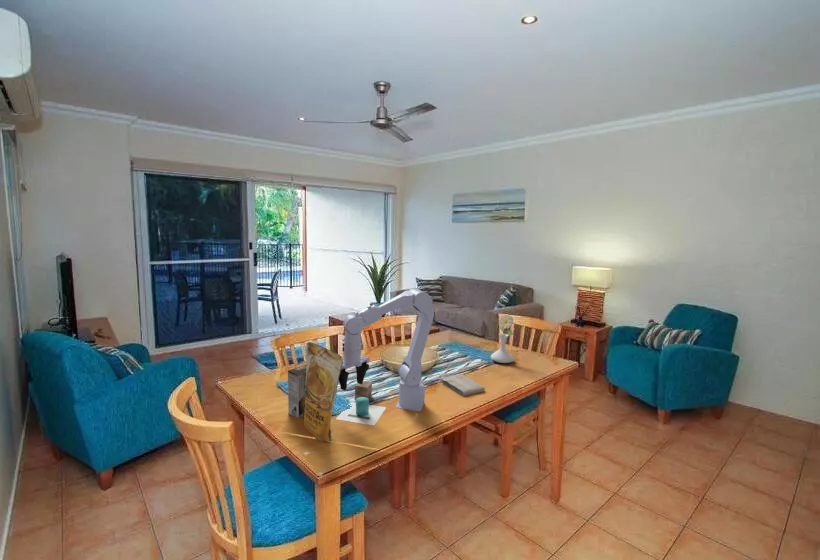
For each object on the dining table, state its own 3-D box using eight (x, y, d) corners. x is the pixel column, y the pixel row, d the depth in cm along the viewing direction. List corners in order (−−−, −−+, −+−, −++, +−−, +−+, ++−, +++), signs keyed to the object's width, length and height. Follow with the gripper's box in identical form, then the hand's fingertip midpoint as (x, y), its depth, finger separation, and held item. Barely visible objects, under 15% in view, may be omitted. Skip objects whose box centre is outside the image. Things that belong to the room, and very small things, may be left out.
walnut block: (371, 397, 160) (371, 382, 159) (367, 402, 155) (367, 387, 154) (359, 395, 161) (359, 380, 160) (354, 400, 156) (355, 385, 155)
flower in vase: (486, 358, 211) (489, 310, 207) (505, 356, 214) (509, 310, 211) (499, 367, 199) (502, 316, 195) (519, 365, 202) (523, 316, 198)
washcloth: (459, 377, 185) (459, 371, 184) (486, 392, 169) (486, 385, 169) (437, 382, 178) (438, 375, 178) (463, 398, 163) (463, 390, 163)
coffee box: (308, 405, 151) (308, 363, 149) (319, 410, 147) (320, 367, 145) (287, 413, 144) (287, 369, 142) (298, 419, 140) (298, 374, 138)
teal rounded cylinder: (371, 412, 146) (371, 399, 145) (362, 417, 142) (362, 403, 142) (361, 408, 149) (362, 395, 148) (353, 413, 145) (353, 399, 144)
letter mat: (386, 408, 151) (386, 407, 151) (374, 426, 137) (374, 425, 137) (350, 403, 154) (351, 401, 154) (335, 420, 140) (335, 419, 140)
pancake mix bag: (315, 417, 142) (315, 339, 138) (343, 440, 128) (345, 354, 124) (296, 422, 138) (296, 342, 134) (324, 447, 124) (325, 358, 120)
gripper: (344, 356, 135) (343, 395, 137) (375, 347, 146) (374, 383, 148) (330, 351, 139) (330, 389, 141) (361, 343, 150) (361, 378, 152)
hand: (351, 386), depth 145 cm, fingers open, 7 cm apart
